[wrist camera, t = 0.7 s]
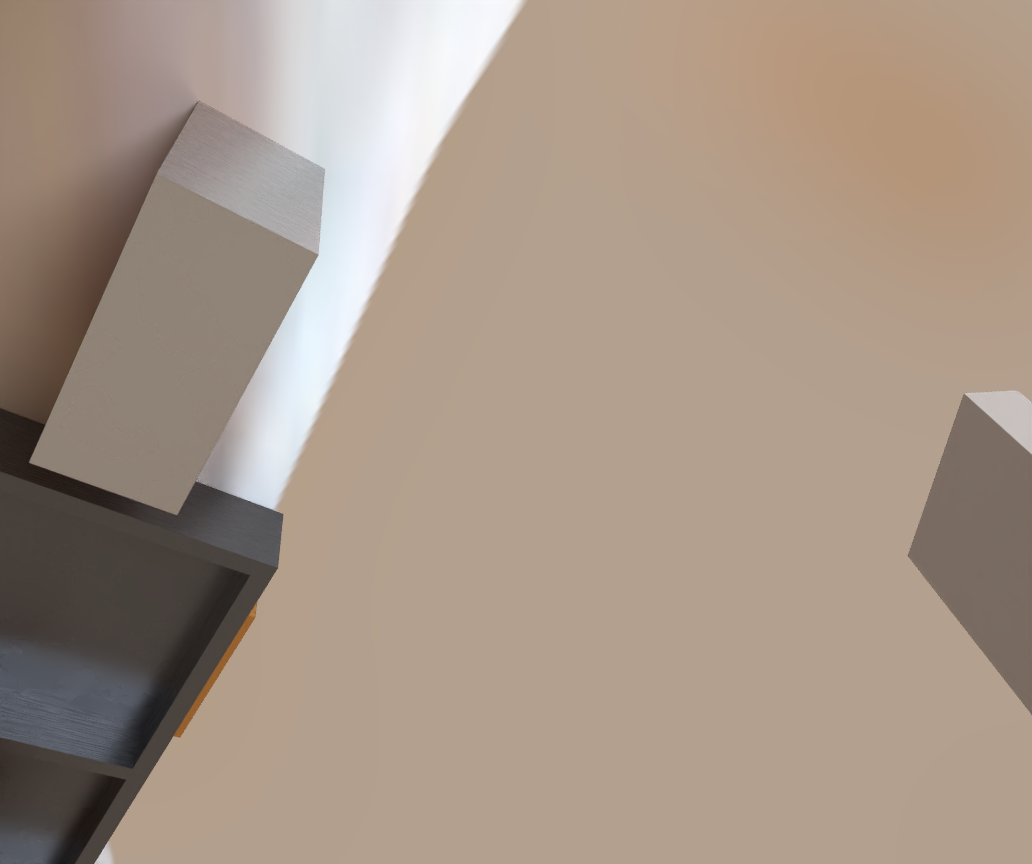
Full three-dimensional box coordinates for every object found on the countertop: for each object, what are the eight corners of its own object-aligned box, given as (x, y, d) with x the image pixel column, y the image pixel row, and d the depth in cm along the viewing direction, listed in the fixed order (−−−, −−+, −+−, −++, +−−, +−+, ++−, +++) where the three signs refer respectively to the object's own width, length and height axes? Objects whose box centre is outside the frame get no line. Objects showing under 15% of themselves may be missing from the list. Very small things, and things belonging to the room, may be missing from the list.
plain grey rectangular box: (91, 340, 34) (28, 462, 27) (199, 100, 30) (156, 173, 23) (209, 389, 36) (177, 515, 29) (324, 168, 32) (318, 254, 25)
